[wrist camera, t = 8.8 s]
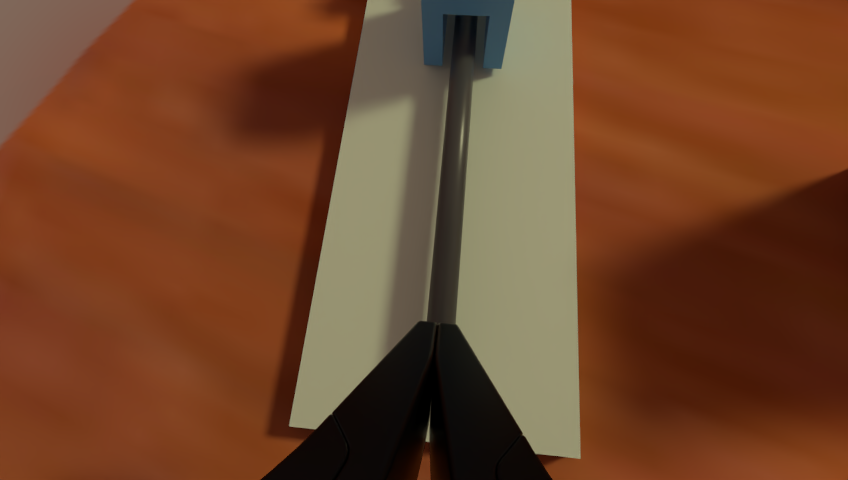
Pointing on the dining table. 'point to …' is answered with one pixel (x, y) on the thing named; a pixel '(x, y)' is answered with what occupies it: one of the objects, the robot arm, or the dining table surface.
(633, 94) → the dining table surface
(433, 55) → the blue block
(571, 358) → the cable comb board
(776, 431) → the dining table surface
